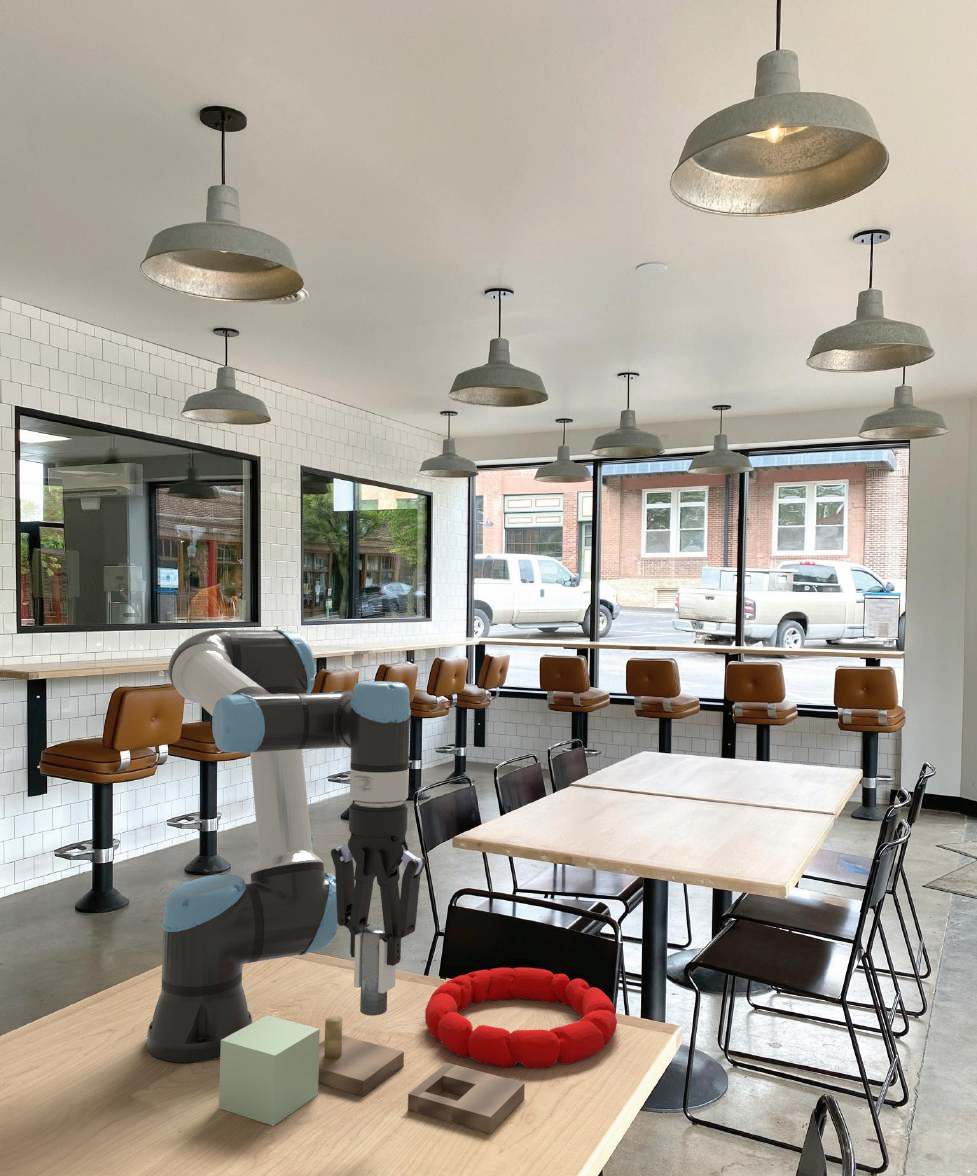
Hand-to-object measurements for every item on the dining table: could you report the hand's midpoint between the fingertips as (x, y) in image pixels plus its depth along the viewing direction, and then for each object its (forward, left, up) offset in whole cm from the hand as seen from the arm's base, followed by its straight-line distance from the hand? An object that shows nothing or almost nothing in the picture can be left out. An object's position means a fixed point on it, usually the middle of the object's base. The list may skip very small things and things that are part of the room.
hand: (374, 986), depth 119 cm
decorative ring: (+5, +34, -17) cm, 38 cm away
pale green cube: (-14, -3, -16) cm, 22 cm away
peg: (0, 0, -3) cm, 3 cm away
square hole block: (+9, +9, -16) cm, 21 cm away
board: (-10, +9, -16) cm, 21 cm away
